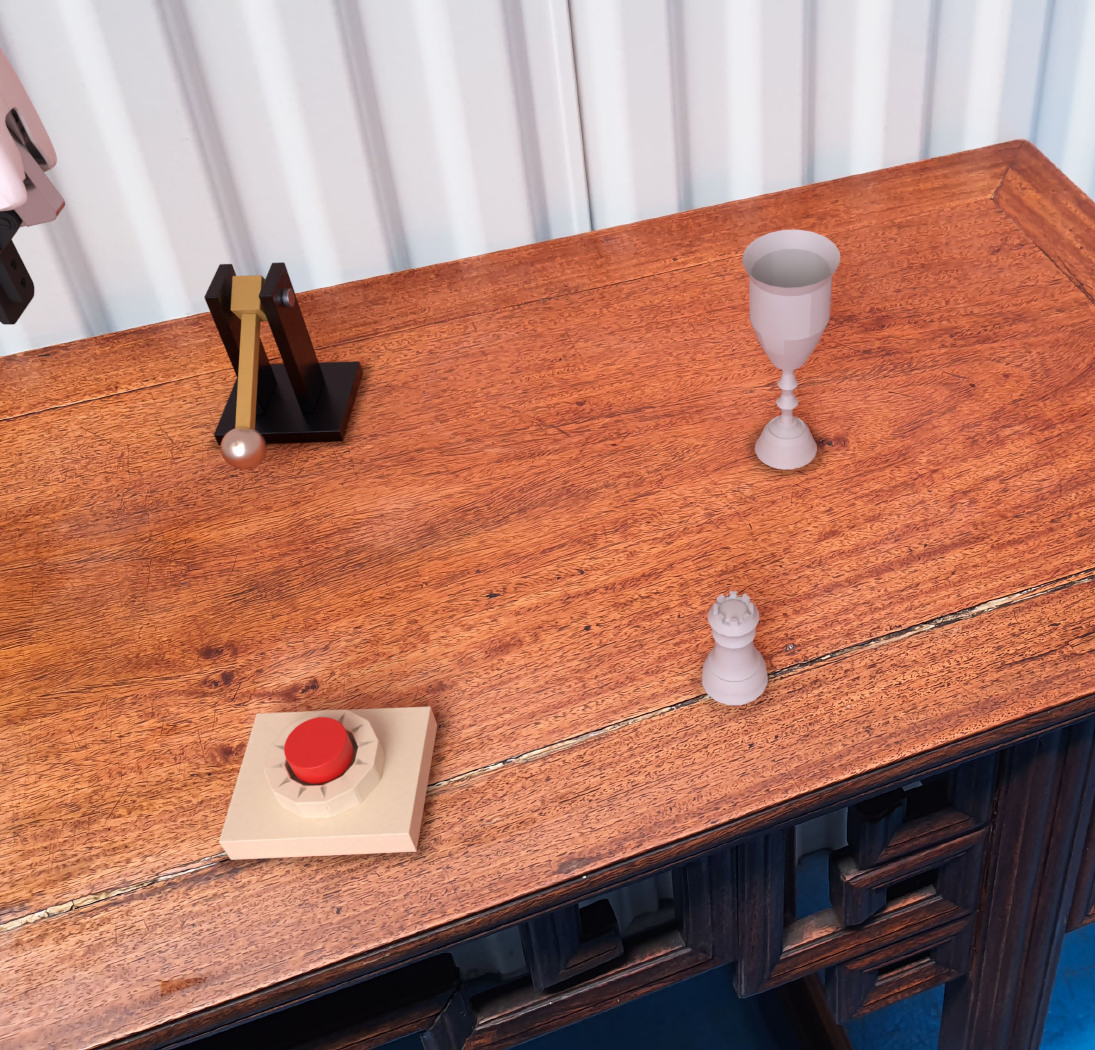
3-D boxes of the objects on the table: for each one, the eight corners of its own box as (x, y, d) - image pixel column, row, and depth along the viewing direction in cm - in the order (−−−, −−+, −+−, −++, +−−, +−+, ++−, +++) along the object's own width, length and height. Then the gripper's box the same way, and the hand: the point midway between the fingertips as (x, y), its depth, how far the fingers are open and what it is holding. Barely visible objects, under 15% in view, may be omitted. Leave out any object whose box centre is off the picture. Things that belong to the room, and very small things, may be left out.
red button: (286, 785, 69) (277, 769, 68) (299, 734, 71) (291, 717, 70) (347, 783, 69) (340, 767, 68) (358, 731, 71) (351, 715, 70)
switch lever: (272, 473, 89) (256, 462, 85) (229, 475, 88) (211, 464, 85) (281, 289, 92) (266, 272, 89) (240, 291, 92) (223, 273, 89)
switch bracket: (342, 441, 95) (298, 312, 86) (218, 445, 95) (160, 316, 85) (363, 371, 101) (323, 244, 92) (246, 375, 101) (194, 247, 91)
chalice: (767, 409, 98) (770, 220, 85) (842, 433, 96) (856, 243, 83) (728, 463, 93) (724, 272, 80) (805, 489, 91) (814, 298, 78)
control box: (230, 860, 69) (207, 826, 67) (266, 732, 76) (247, 696, 73) (416, 852, 70) (402, 818, 67) (437, 725, 76) (425, 689, 73)
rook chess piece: (761, 714, 77) (762, 639, 71) (695, 704, 77) (690, 629, 71) (773, 660, 80) (774, 584, 74) (709, 651, 80) (705, 574, 74)
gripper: (34, -60, 55) (168, 272, 68) (-294, -65, 54) (-95, 270, 67) (-37, 7, 49) (123, 352, 63) (-401, 2, 49) (-162, 351, 62)
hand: (10, 309), depth 65 cm, fingers closed
